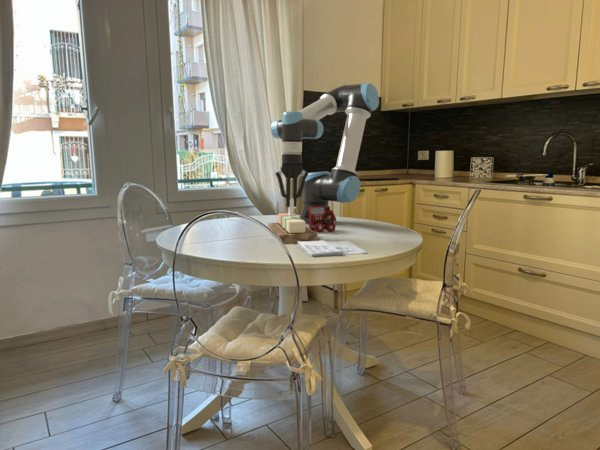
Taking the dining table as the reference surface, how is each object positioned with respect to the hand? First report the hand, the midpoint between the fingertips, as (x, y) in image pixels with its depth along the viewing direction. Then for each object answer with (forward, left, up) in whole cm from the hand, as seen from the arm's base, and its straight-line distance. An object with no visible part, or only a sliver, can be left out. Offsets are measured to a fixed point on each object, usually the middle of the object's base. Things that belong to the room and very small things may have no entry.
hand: (291, 215), depth 168 cm
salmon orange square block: (0, -8, -5) cm, 9 cm away
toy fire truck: (-15, -8, -8) cm, 19 cm away
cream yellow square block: (0, +8, -5) cm, 9 cm away
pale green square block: (0, 0, -5) cm, 5 cm away
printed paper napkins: (-9, +25, -9) cm, 28 cm away
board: (0, 0, -8) cm, 8 cm away
